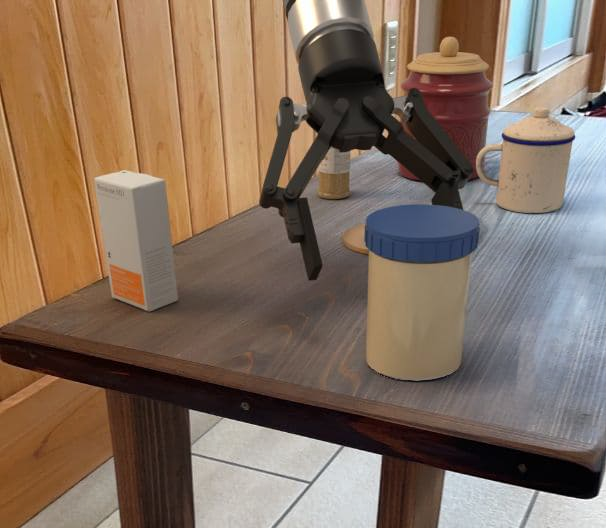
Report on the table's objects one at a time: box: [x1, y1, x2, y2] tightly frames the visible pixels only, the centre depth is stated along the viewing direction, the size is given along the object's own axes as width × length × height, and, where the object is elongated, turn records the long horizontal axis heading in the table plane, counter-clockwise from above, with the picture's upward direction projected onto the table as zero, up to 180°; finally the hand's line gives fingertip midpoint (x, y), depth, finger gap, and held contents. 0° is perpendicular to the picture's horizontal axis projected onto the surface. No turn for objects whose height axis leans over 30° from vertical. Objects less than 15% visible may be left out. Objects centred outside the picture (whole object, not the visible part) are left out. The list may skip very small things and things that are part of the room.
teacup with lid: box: [476, 106, 576, 214], centre depth 110 cm, size 12×9×12 cm
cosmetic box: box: [93, 169, 179, 313], centre depth 84 cm, size 6×4×12 cm
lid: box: [364, 203, 481, 262], centre depth 68 cm, size 9×9×2 cm
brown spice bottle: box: [317, 147, 351, 200], centre depth 114 cm, size 5×5×14 cm
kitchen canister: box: [396, 36, 494, 182], centre depth 122 cm, size 13×13×18 cm
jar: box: [365, 250, 474, 379], centre depth 72 cm, size 8×8×12 cm
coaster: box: [342, 222, 369, 256], centre depth 102 cm, size 12×12×1 cm
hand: (387, 265), depth 77 cm, fingers open, 13 cm apart
